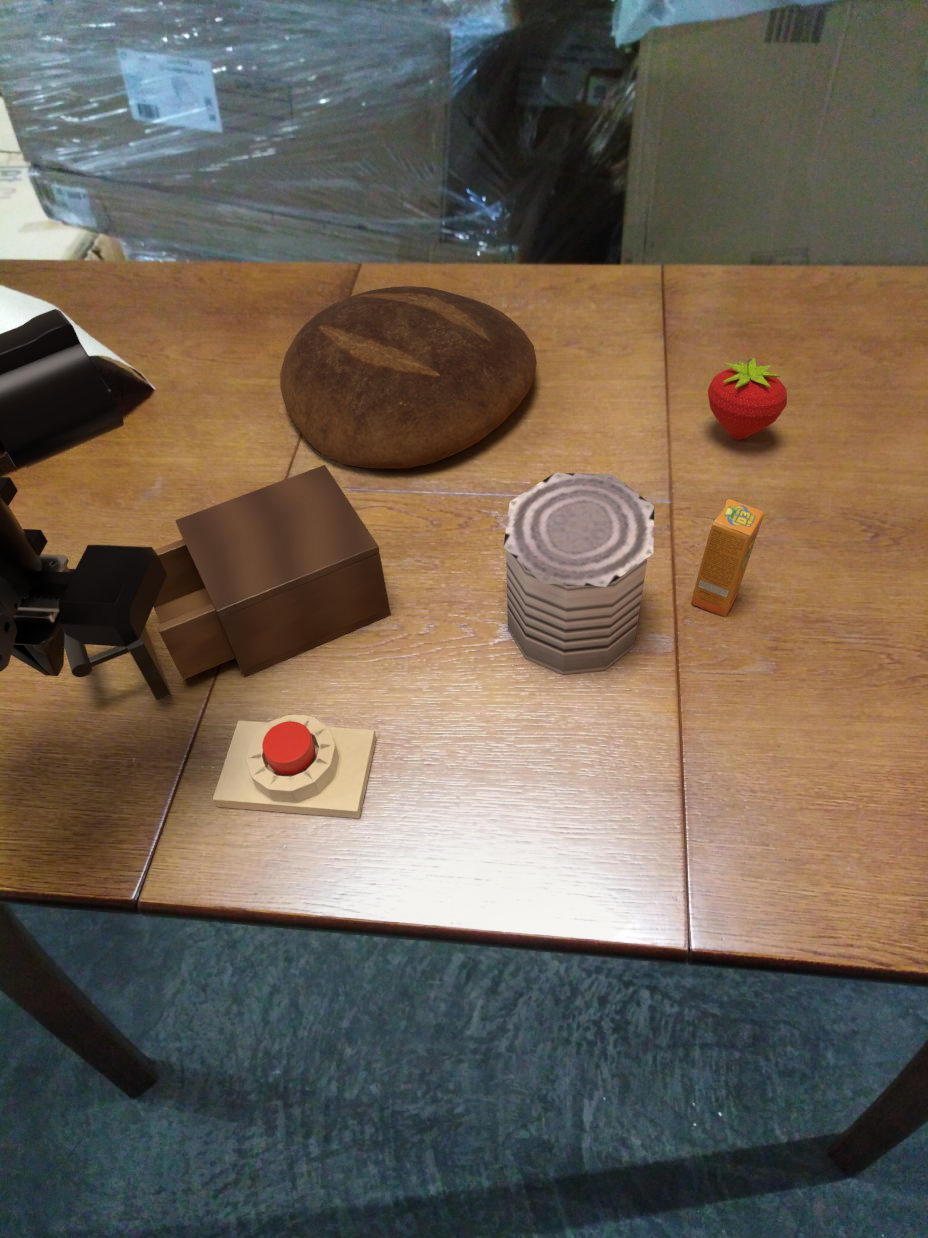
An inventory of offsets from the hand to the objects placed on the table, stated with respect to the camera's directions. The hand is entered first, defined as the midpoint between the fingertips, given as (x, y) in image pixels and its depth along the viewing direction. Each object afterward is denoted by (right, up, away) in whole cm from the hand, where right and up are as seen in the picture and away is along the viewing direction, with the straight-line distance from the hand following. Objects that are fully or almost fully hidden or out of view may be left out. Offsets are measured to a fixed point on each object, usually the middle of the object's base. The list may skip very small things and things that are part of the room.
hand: (55, 670), depth 60 cm
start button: (+14, -7, +7) cm, 17 cm away
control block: (+14, -8, +9) cm, 19 cm away
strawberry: (+55, +21, +31) cm, 67 cm away
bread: (+21, +28, +39) cm, 53 cm away
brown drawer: (+3, +2, +17) cm, 17 cm away
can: (+37, +3, +17) cm, 41 cm away
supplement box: (+49, +5, +18) cm, 52 cm away
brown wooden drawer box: (+12, +5, +20) cm, 24 cm away
